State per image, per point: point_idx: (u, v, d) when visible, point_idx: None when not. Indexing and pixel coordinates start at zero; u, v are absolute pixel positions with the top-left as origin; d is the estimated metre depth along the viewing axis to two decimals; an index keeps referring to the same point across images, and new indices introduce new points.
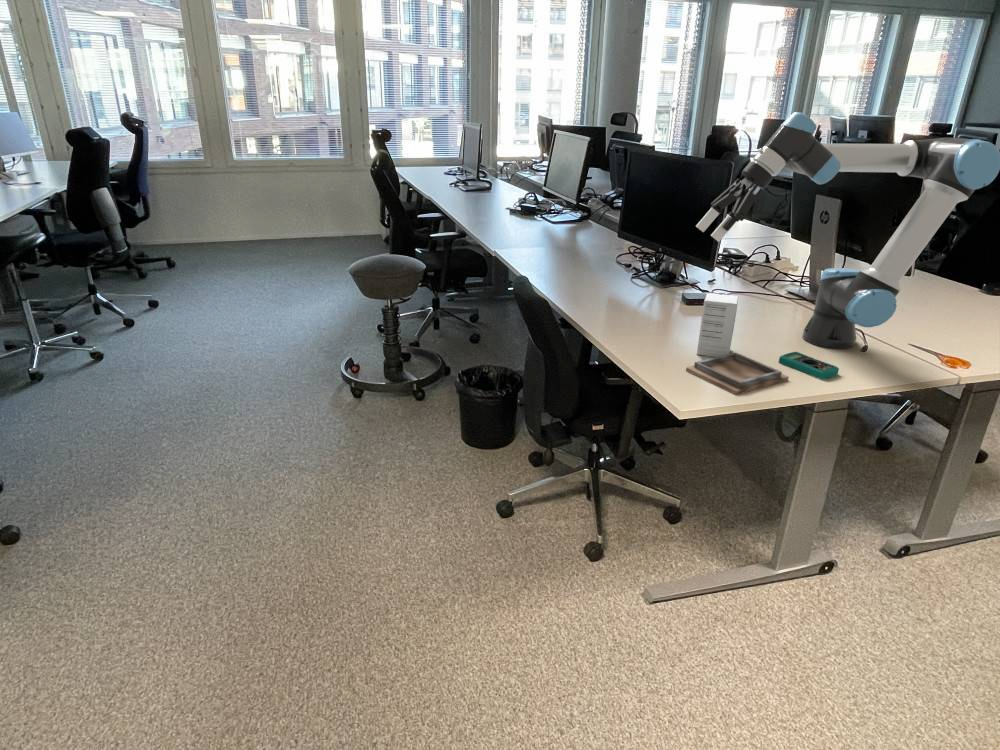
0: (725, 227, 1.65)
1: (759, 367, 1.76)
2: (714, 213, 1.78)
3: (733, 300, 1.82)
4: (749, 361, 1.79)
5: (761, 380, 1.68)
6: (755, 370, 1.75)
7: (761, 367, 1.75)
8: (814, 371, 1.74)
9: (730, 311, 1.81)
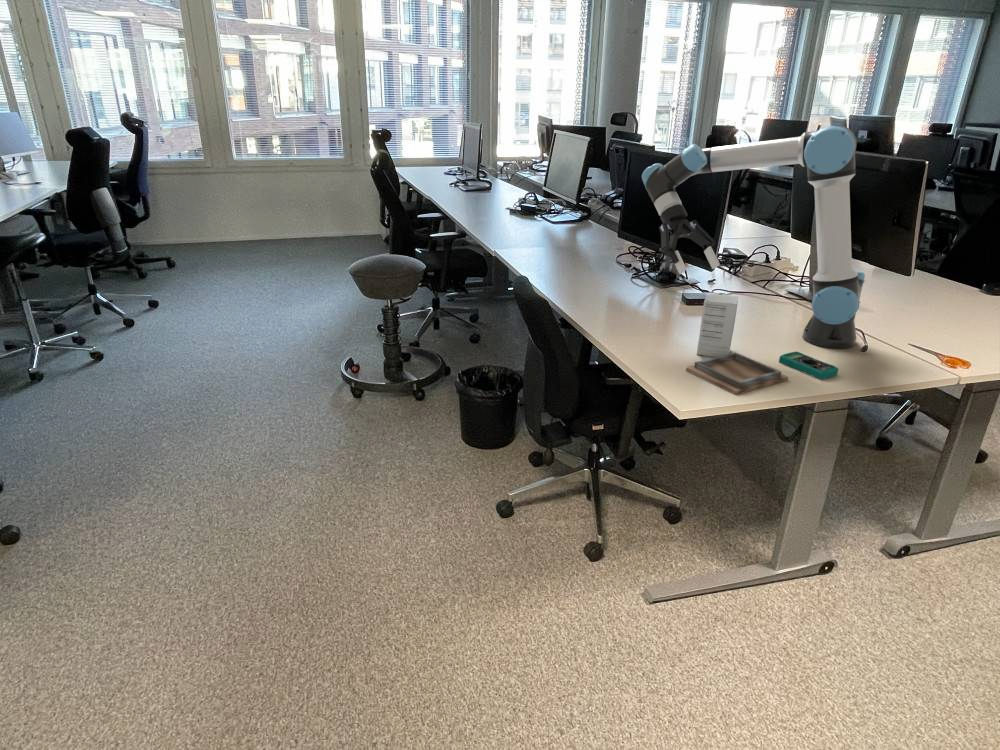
0: (673, 262, 1.87)
1: (759, 367, 1.76)
2: (707, 250, 1.94)
3: (733, 300, 1.82)
4: (749, 361, 1.79)
5: (761, 380, 1.68)
6: (755, 370, 1.75)
7: (761, 367, 1.75)
8: (812, 371, 1.74)
9: (730, 311, 1.81)
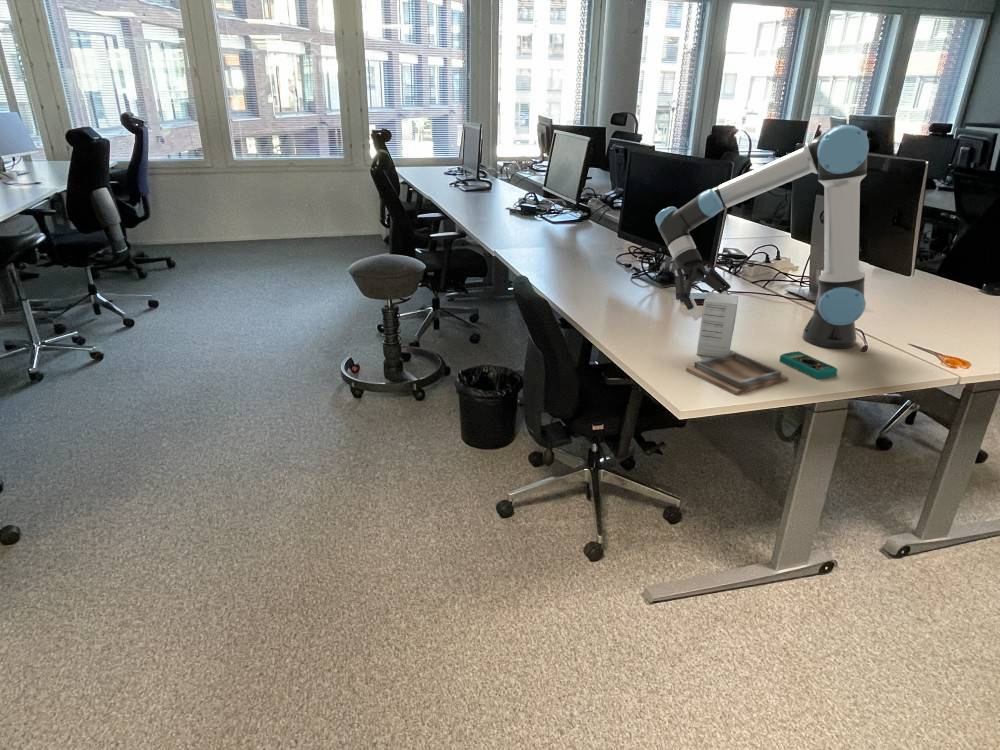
0: (688, 308, 1.85)
1: (759, 367, 1.76)
2: None
3: (733, 300, 1.82)
4: (749, 361, 1.79)
5: (761, 380, 1.68)
6: (755, 370, 1.75)
7: (761, 367, 1.75)
8: (810, 370, 1.75)
9: (730, 311, 1.80)
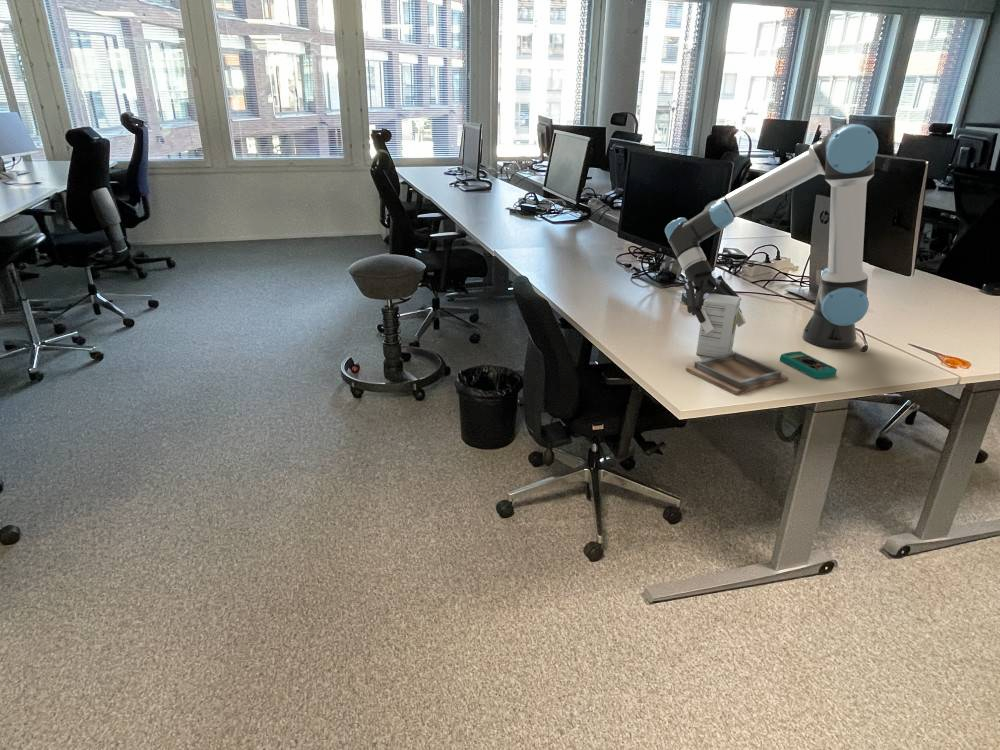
0: (700, 321, 1.83)
1: (759, 367, 1.76)
2: None
3: (733, 301, 1.82)
4: (749, 361, 1.79)
5: (761, 380, 1.68)
6: (755, 370, 1.75)
7: (761, 367, 1.75)
8: (809, 370, 1.75)
9: (730, 312, 1.80)
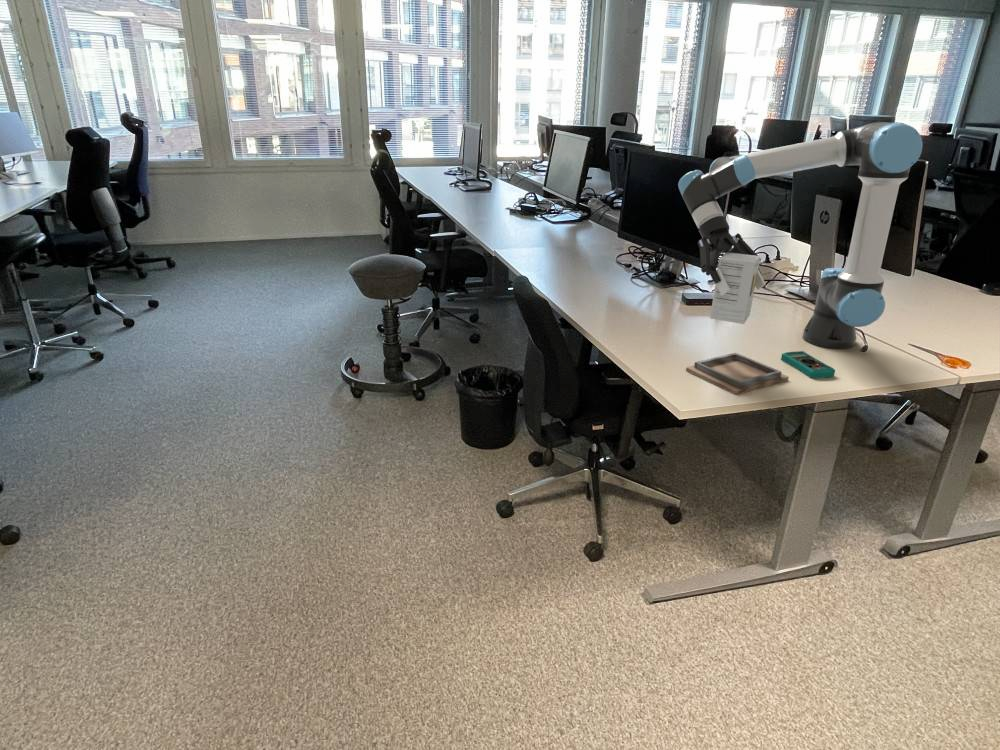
0: (714, 281, 1.67)
1: (759, 367, 1.76)
2: None
3: (752, 259, 1.65)
4: (749, 361, 1.79)
5: (761, 380, 1.68)
6: (755, 370, 1.75)
7: (761, 367, 1.75)
8: (806, 369, 1.75)
9: (747, 271, 1.64)
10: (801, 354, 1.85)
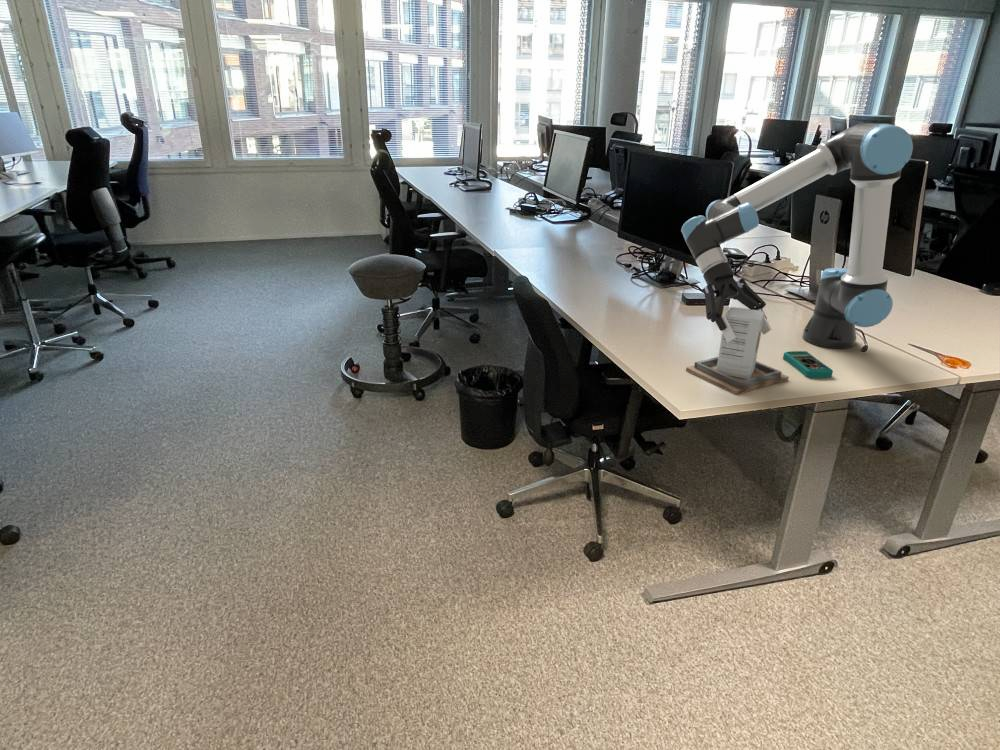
0: (720, 329, 1.66)
1: (759, 367, 1.76)
2: None
3: (757, 316, 1.66)
4: None
5: (761, 380, 1.68)
6: (755, 370, 1.75)
7: (761, 367, 1.75)
8: (803, 368, 1.76)
9: (753, 328, 1.64)
10: (804, 354, 1.85)
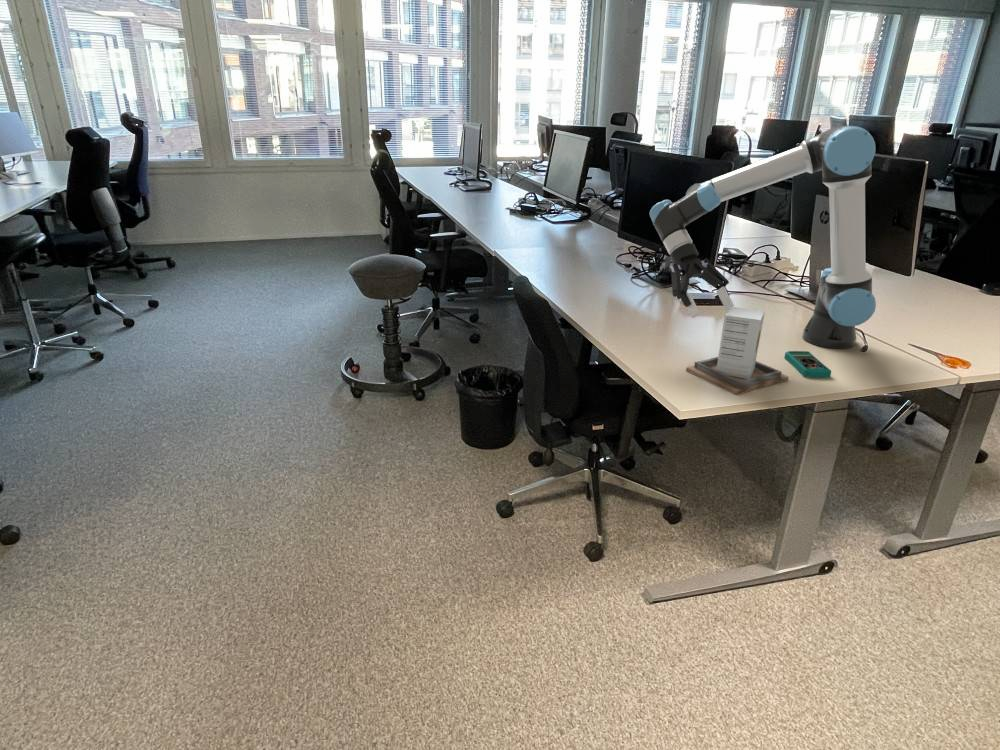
0: (685, 305, 1.77)
1: (759, 367, 1.76)
2: (720, 291, 1.84)
3: (757, 316, 1.66)
4: None
5: (761, 380, 1.68)
6: (755, 370, 1.75)
7: (761, 367, 1.75)
8: (801, 368, 1.76)
9: (753, 328, 1.64)
10: (806, 354, 1.85)
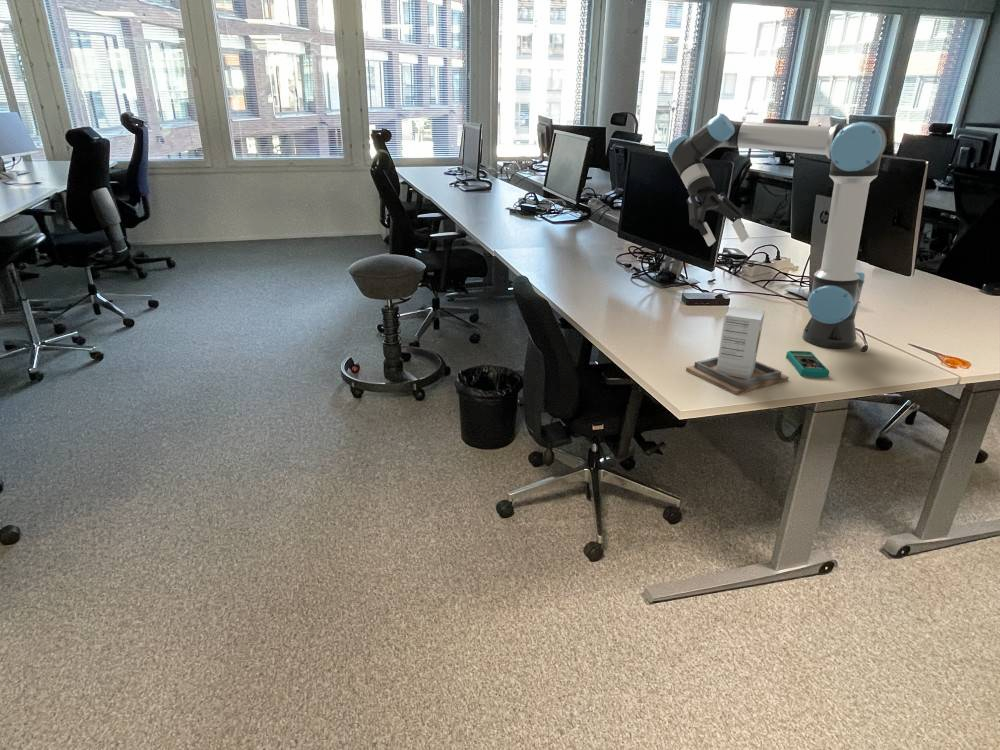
0: (702, 234, 1.83)
1: (759, 367, 1.76)
2: (736, 223, 1.90)
3: (757, 316, 1.66)
4: None
5: (761, 380, 1.68)
6: (755, 370, 1.75)
7: (761, 367, 1.75)
8: (799, 367, 1.76)
9: (753, 328, 1.64)
10: (807, 354, 1.85)
